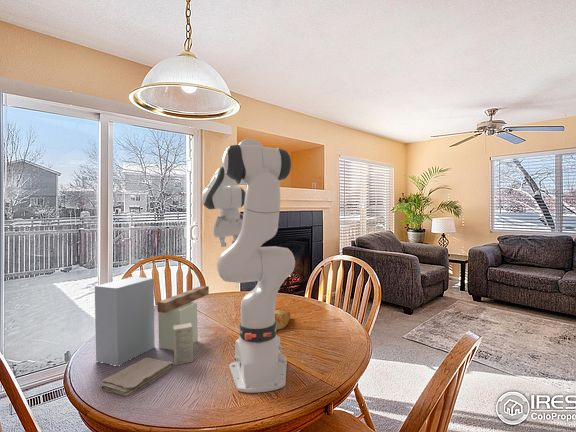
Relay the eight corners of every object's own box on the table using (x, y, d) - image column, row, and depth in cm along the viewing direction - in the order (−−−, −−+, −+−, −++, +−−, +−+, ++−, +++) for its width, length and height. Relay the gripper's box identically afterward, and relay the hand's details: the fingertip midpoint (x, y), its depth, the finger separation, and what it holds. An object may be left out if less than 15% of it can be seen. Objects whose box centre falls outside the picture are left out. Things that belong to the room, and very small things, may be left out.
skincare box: (192, 356, 108) (192, 322, 108) (193, 362, 104) (193, 326, 104) (173, 359, 106) (173, 324, 106) (173, 365, 102) (173, 329, 102)
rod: (201, 293, 135) (201, 285, 135) (208, 294, 134) (208, 286, 134) (157, 311, 111) (157, 302, 111) (165, 312, 110) (165, 303, 109)
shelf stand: (134, 343, 120) (133, 276, 119) (154, 346, 116) (153, 278, 116) (96, 362, 105) (94, 286, 104) (117, 367, 101) (116, 288, 101)
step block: (177, 337, 125) (176, 300, 125) (197, 340, 121) (197, 302, 121) (158, 347, 116) (158, 307, 115) (180, 351, 112) (179, 310, 112)
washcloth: (97, 390, 89) (97, 380, 89) (147, 362, 105) (147, 353, 105) (127, 400, 84) (126, 388, 84) (174, 368, 101) (174, 359, 101)
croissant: (271, 343, 127) (278, 327, 125) (252, 328, 131) (259, 313, 129) (293, 324, 146) (300, 311, 144) (276, 312, 150) (283, 299, 148)
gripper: (222, 216, 131) (222, 248, 132) (245, 215, 151) (245, 243, 151) (209, 216, 134) (210, 248, 134) (234, 215, 153) (234, 243, 153)
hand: (229, 245), depth 142 cm, fingers open, 8 cm apart
